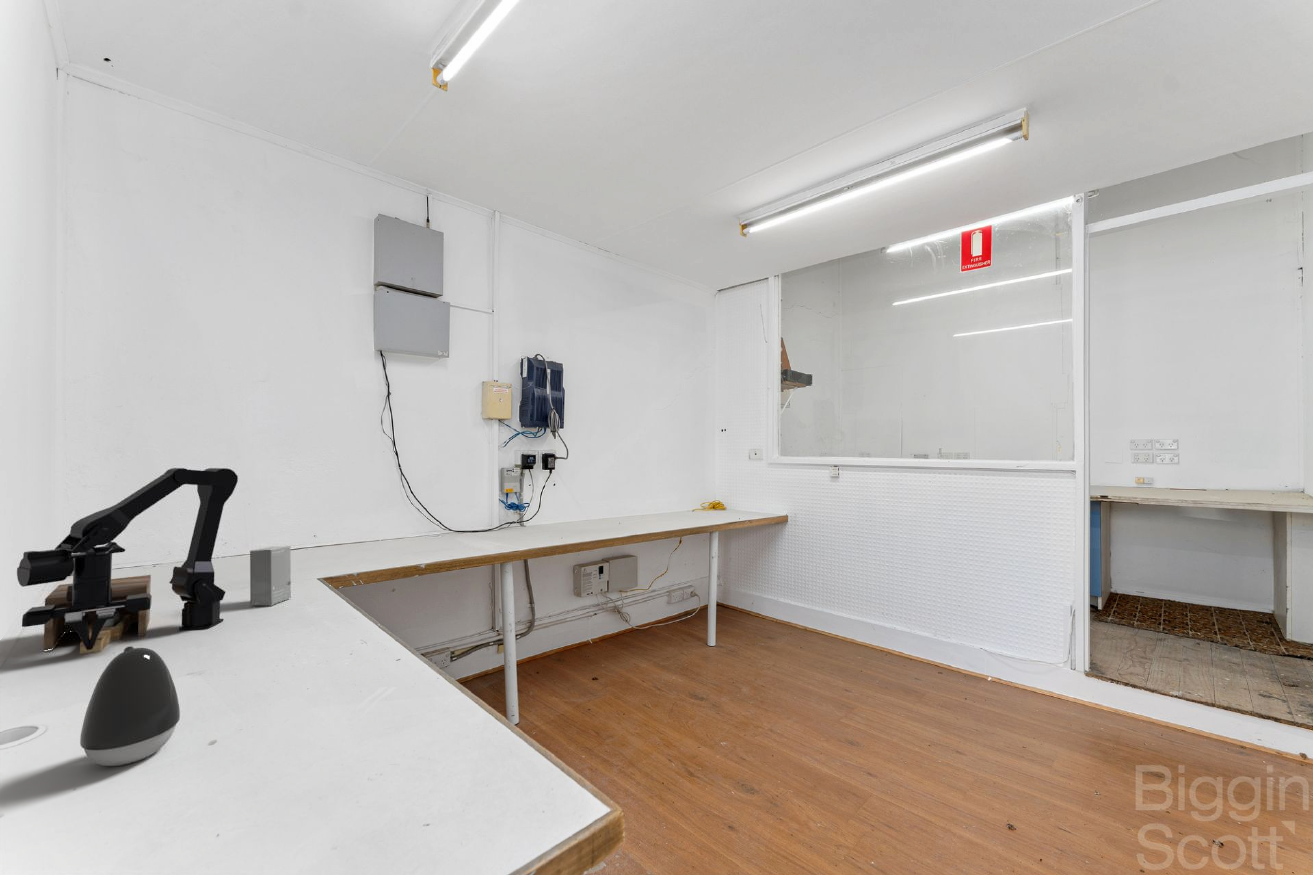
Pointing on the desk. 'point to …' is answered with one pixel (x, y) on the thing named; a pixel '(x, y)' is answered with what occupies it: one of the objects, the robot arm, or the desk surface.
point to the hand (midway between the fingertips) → (89, 649)
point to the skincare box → (270, 575)
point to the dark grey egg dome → (130, 709)
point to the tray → (109, 632)
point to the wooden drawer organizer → (120, 592)
